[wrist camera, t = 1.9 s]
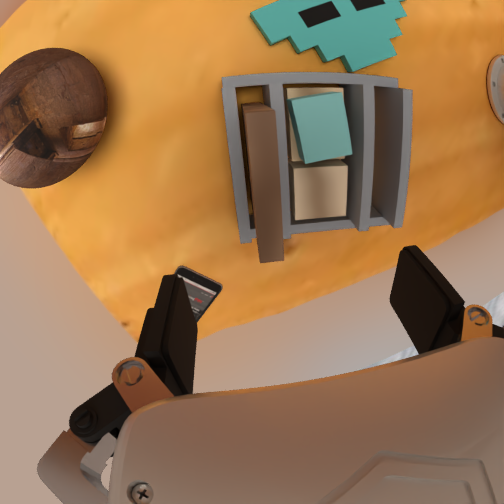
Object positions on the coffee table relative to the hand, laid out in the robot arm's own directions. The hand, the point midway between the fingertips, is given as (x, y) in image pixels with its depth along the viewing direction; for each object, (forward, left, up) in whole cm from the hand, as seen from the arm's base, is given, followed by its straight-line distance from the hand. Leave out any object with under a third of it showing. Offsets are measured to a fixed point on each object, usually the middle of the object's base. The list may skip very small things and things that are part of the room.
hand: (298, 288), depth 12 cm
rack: (-6, 0, -25) cm, 26 cm away
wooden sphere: (+22, -10, -25) cm, 35 cm away
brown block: (0, 0, -25) cm, 25 cm away
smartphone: (+14, +22, -25) cm, 37 cm away
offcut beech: (-6, +4, -25) cm, 26 cm away
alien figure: (-10, -20, -26) cm, 34 cm away
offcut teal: (-6, -4, -21) cm, 22 cm away
